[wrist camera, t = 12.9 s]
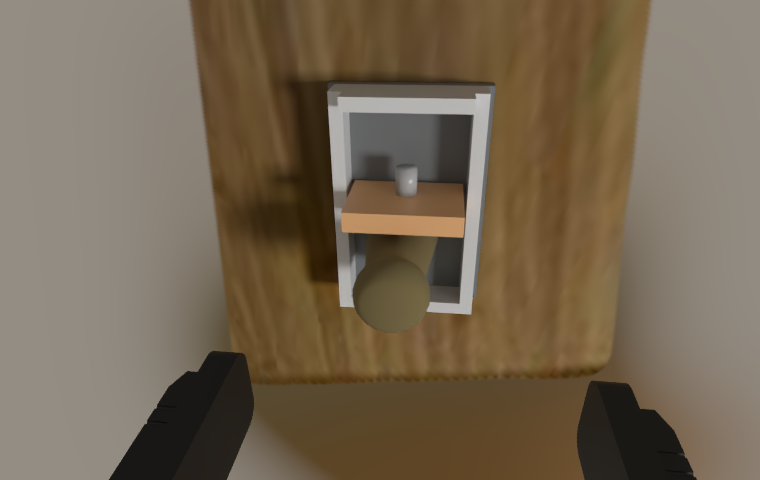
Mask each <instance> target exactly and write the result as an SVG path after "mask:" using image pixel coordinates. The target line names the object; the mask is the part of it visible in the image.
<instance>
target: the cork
mask: <svg viewBox="0 0 760 480" xmlns="http://www.w3.org/2000/svg"><path fill="white" fill-rule="evenodd" d="M438 238H439V237H437V236H414V235H392V234H370V233H366V257H365V267H364V268H363V269H362V270H361V272H360V273H359V274H358V275H357V278H356V281H355V283H354V286H353V290H352V291H353V304H354V307H355V309H356V312H357V314H358V315H359V316H360V317H361V318H362V320H363V321H364V322H365V323H366V324H367V325H369V326H371V327H372V328H374V329H376V330H379V331H382V332H388V333H397V332H402V331H405V330H407V329H409V328H411V327H413V326H415V325H417V324H418V323H419V322H420V321H421V320H422V319H423V317H424V315H425V313H426V311H427V309H428V307H429V305H430V287H429V284H428V281H427V279H426V275H427V272H428V269H429V266H430V262H431V259H432V256H433V253H434V250H435V247H436V244H437V241H438Z"/></svg>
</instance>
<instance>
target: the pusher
mask: <svg viewBox="0 0 760 480" xmlns="http://www.w3.org/2000/svg"><path fill="white" fill-rule="evenodd" d="M417 174H418V167H417V166H416V165H413V164H400V165H397V166H396V167H395V181H368V180H355V181H354V184H353V186H352V188H351V191H350V193H349V195H348V197H347V200H346V202H345V204H344V207H343V209H342V211H341V225H342V232H348V233H370V234H392V235H414V236H437V237H459V238H463V237H464V224H465V211H464V194H463V184H458V183H428V182H417Z"/></svg>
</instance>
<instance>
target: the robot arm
mask: <svg viewBox="0 0 760 480" xmlns="http://www.w3.org/2000/svg"><path fill="white" fill-rule="evenodd" d="M253 410H254V397H253V392H252V386H251V381H250V376H249V370H248V365H247V360H246V357H245V355H244V354H243V353H233V352H220V351H212V352H210V353H209V354H208V356H207V358H206V359H205V361H204V363H203V364H202V366H201V368H200V369H199V371H198V372H190V371H187V372H186V373H185V374H184V375H182V376H181V377H180V378H179V379H178V380H176V381H175V382H174V383H173V384H172V385H170V386H169V387H168V389H167V391H166V392H165V394H164V395H163V397H162V398H161V400H160V401H159V403H158V404H157V408H156V409H154V411H153V412H152V414H151V415H150V417H149V418H148V420H147V424H145V425H144V426H143V428H142V429H141V431H140V433H139V434H138V436H137V437H136V439H135V440H134V442H133V443H132V445H131V446H130V448H129V449H128V451H127V452H126V454H125V456H124V457H123V459H122V460H121V462H120V463H119V465H118V466H117V468H116V470H115V471H114V473H113V474H112V476H111V477H110V479H109V480H227V478H228V475H229V473H230V471H231V468H232V466H233V463H234V461H235V459H236V457H237V454H238V452H239V449H240V447H241V445H242V442H243V440H244V438H245V435H246V433H247V431H248V428H249V426H250V423H251V420H252V416H253ZM577 447H578V455H579V459H580V463H581V467H582V471H583V475H584V478H585V480H697V479H696V477H694V476H693V470H692V468H691V466H690V464H689V462H688V460H687V458H685V456H684V451H683V449H682V447H681V445H680V442H679V440H678V438H677V436H676V434H675V432H674V430H673V429H672V428H671V427H670V426H669V425H668V424H667V423H666V422H665V421H664V419H663V418H662V417H661V416H660V415H659V414H658V413H657V412H656V411H655V410H648V409H647V410H646V409H640V408H639V405H638V403H637V401H636V398H635V396H634V393H633V391H632V389H631V387H630V385H629V384H627V383H616V382H602V381H591V382H590V384H589V386H588V390H587V394H586V397H585V401H584V406H583V409H582V413H581V417H580V421H579V424H578V430H577Z"/></svg>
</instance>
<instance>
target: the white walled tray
mask: <svg viewBox="0 0 760 480" xmlns="http://www.w3.org/2000/svg"><path fill="white" fill-rule="evenodd" d="M327 97H328V114H329V130H330V146H331V162H332V179H333V195H334V211H335V228H336V244H337V260H338V276H339V293H340V306H342V307H354V304H353V291H352V290H353V286H354V283H355V281H356V278H357V275H358V274H359V273H360V272H361V270H362V269H363V268H364V267H365V257H366V233H348V232H342V225H341V211H342V209H343V207H344V204H345V202H346V200H347V197H348V195H349V193H350V191H351V188H352V186H353V184H354V181H355V180H368V181H395V167H396V166H397V165H400V164H413V165H416V166H417V167H418V174H417V182H428V183H458V184H463V194H464V211H465V224H464V237H463V238H459V237H439V238H438V241H437V244H436V247H435V250H434V253H433V256H432V259H431V262H430V266H429V269H428V272H427V275H426V279H427V281H428V284H429V287H430V305H429V307H428V309H427V311H426V312H440V313H456V314H471V309H472V297H476V289H477V279H478V268H479V257H480V247H481V236H482V225H483V215H484V204H485V193H486V182H487V172H488V161H489V150H490V140H491V129H492V118H493V108H494V97H495V83H455V82H368V81H330V82H329V83H328V91H327Z"/></svg>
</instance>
